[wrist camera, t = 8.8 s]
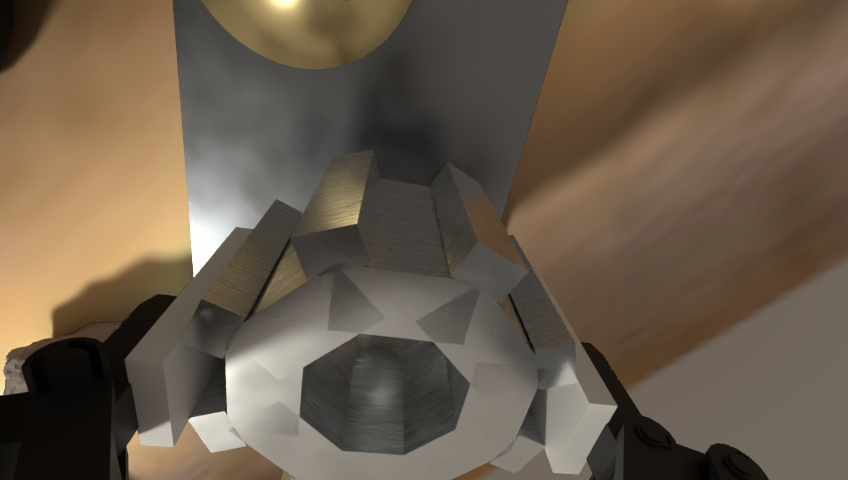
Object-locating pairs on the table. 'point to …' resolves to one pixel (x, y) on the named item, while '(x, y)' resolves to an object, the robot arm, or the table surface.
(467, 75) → the carrier
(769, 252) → the table surface
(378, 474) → the planet gear
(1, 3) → the coffee jar
